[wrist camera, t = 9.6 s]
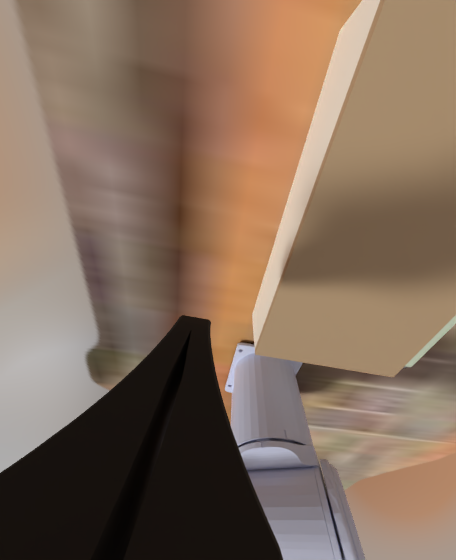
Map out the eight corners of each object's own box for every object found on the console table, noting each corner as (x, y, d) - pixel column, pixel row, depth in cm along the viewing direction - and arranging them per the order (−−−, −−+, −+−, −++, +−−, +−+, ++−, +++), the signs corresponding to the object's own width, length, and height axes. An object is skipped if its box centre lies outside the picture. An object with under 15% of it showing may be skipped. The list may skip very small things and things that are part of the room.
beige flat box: (362, 333, 21) (393, 377, 17) (252, 314, 21) (255, 354, 16) (548, 78, 11) (745, 25, 7) (339, 30, 11) (407, -61, 6)
